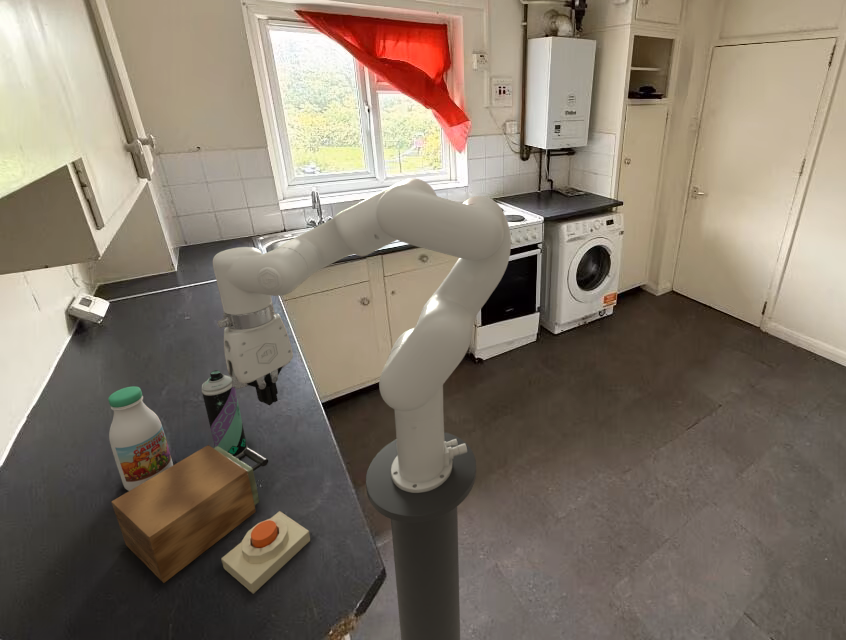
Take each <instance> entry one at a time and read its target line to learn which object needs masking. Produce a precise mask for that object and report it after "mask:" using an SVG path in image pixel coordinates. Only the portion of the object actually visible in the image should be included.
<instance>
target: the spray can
mask: <svg viewBox="0 0 846 640" xmlns="http://www.w3.org/2000/svg"><path fill="white" fill-rule="evenodd" d="M209 375H210V376H209V377H208V378H207V380H206V381H204V382H203V383H202V384H201V394H202V397H203V402H204V406H205V411H206V414H207V418H208V423H209V427H210V432H211V436H212V441H213V444H214V448H215V447H217V446H218V447H220V448H222V449H223V450H225V451H226V452H228V453H229V454H231V455H232V456H234V457H235V458H236V457H238V456H240V455H241V454H243V452H244V450H245V449H247V448H248V444H247V438H246V434H245V429H244V424H243V420H242V415H241V410H240V409H241V408H240V405H239V399H238V395H237V391H236V390H237V389H236V388H234V387H232V377H230V375H229V374H226V375H225V374H223V373H222V372H221V371H220V370H218V369H217V370H212V371H211V372H210V373H209Z"/></svg>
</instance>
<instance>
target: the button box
mask: <svg viewBox="0 0 846 640" xmlns="http://www.w3.org/2000/svg"><path fill="white" fill-rule="evenodd" d="M267 520H271V521H274V522H275V523H276V527H277V532H278V534H277V537H276V539H275V540H274V541H273V542H272V543H271V544H270V545H268V546H266V547H263V548H256V547H254V546H253V543H252V539H251V532H252V530H253V529H254V528H255V527H256V526H257V525H258V524H259V523H261V522H264V521H267ZM309 542H311V535H310V530H308V529H307V528H305V527H304V526H302V525H301V524H299V523H298V522H297V521H295V520H293V519H292V518H291V517H289V516H288V515H286V514H284V513H283V512H282V511H280V510H279V511H278V512H277V513H276V514H274V515H273V516H271V517H270V518H267V519H266V520H263V521H260V522H258V523H257V524H255V525H254V526H252V528H250V529H249V530H248V531H247V532H246V533H245V535H244V537H243V539H242V540H241V541H240V543H238V544H237V545H235V547H233V548H232V549H231V550H230V551H228V552H227V553H226V554H225V555H224V556H222V557H221V564H222V567H223V569H224V570H225V571H226V572H227V573H228V574H230V575H231V577H233V578H234V579H235V580H237V581H238V583H240V584H241V585H242V586H244V588H246V589H247V591H248V592H250V593H251V594H252V595H254V594H255V593H256V592H258V590H260V588H261V587H263V586H264V585H265V584H266V583H267V582H268V581H269V580H270V579H271V578H272V577H273V576H274V575H275V574H277V573H278V572H279V571H280V570H281V569H283V567H284V566H285V565H286V564H287V563H288V562H289V561H290V560H291V559H292V558H293V557H295V556H296V555H297V554H298V553H299V552H300V551H301V550H302V549H303V548H304V547H305V546H307V544H309Z"/></svg>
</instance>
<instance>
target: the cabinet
mask: <svg viewBox="0 0 846 640" xmlns="http://www.w3.org/2000/svg"><path fill="white" fill-rule="evenodd" d="M214 448H215V447H212V446H211V445H209V444H208V445H206V446H204V447H202V448H200V449H198V450H197V451H195V452H194V453H192V454H190V455H188V456H187V457H184V458H183V459H182V460H180V461H178V462H177V463H174V464H173V466H171V467H170V468H168V469H166V470H165V471H163V472H161V473H159V474H158V475H156V476H154V477H153V478H151V479H149V480H147V481H146V482H144V483H142V484H141V485H139V486H137V487H135V488H134V489H132V490H130V491H127V492H125V493H123V494H122V495H120V496H119V497H117V498H115V499H113V500H112V501H111V505H112V508H113V512H114V514H115V518H116V520H117V522H118V525H119V526H118V527H119V529H120V531H121V535H122V538H123V540H124V543H125V546H126V547H127V548H128V549H129V550H130V551H131V552H132V553H133V554H134V555H135V556H136V557H137V558H138V559H139V560H140V561H141V562H142V564H144V565H145V566H146V567H147V568H148V570H150V571H151V572H152V573H153V574H154V576H156V577H157V578H158V579H159V580H160V581H161V582H162V583H163V584H165V583H166V582H168V581H169V580H170V579H172V577H174V576H176V574H178V573H179V572H181V571H182V570H183V569H184V568H186V567H187V566H188V565H189V564H191V563H192V562H194V560H196V559H197V558H199V557H200V556H201V555H202V554H203V553H205V552H206V551H208V550H209V549H210V548H211V547H212V546H214V545H216V544H217V543H218V542H219V541H220V540H222V539H223V538H224V537H226V536H227V535H228V534H229V533H231V532H232V531H233V530H235V529H236V528H237V527H239V526H240V525H242V523H243V522H245V521H246V520H247V519H249V518H250V517H251V516H252V515H254V514H255V513H256V512H257V511H256V505H254V500H253V495H252V491H251V486H250V481H249V476H248V472H247V470H246V469H244V468H243V467H241V466H240V465H238V464H237V463H235V462H233V461H232V460H230V459H229V458H227V457H226V456H224V455H223V454H221V453H220V452H218V451H217V450H215V449H214Z"/></svg>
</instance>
